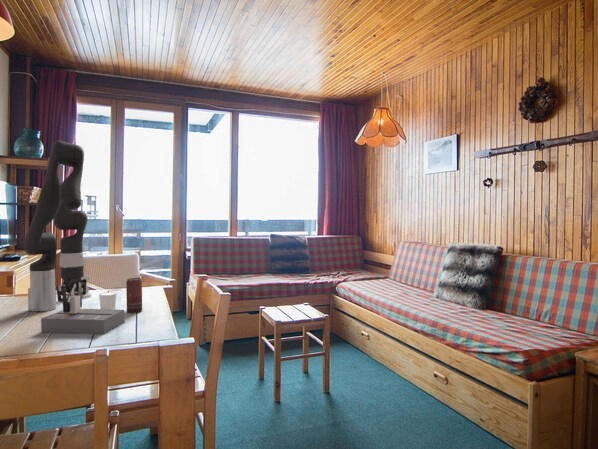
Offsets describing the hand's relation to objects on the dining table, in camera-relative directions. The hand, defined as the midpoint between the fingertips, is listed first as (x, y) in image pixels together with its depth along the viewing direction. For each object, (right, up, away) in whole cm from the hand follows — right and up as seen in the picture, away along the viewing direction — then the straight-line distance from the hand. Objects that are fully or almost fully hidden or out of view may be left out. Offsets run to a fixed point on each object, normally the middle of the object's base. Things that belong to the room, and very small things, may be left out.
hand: (72, 309), depth 145 cm
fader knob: (0, -3, 0) cm, 3 cm away
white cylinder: (+1, -6, +25) cm, 26 cm away
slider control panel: (+4, -6, 0) cm, 8 cm away
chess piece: (-25, -5, +49) cm, 55 cm away
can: (+14, -6, +22) cm, 27 cm away
